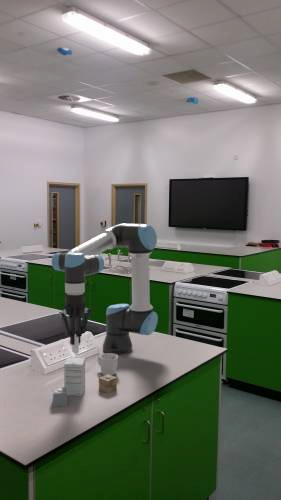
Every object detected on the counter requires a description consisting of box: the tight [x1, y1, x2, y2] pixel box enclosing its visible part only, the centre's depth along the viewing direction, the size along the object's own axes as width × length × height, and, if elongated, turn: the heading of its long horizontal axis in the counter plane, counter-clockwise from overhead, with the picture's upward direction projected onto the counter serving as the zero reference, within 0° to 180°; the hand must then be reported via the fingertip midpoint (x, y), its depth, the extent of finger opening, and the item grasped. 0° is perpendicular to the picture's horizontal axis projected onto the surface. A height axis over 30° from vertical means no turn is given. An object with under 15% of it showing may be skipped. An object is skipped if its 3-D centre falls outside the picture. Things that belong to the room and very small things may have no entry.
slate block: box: [52, 386, 68, 408], centre depth 162 cm, size 5×5×5 cm
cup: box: [97, 352, 119, 376], centre depth 191 cm, size 11×8×8 cm
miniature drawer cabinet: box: [63, 357, 86, 397], centre depth 171 cm, size 7×7×13 cm
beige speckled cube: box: [98, 374, 118, 394], centre depth 174 cm, size 5×5×5 cm
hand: (75, 352), depth 170 cm, fingers closed
